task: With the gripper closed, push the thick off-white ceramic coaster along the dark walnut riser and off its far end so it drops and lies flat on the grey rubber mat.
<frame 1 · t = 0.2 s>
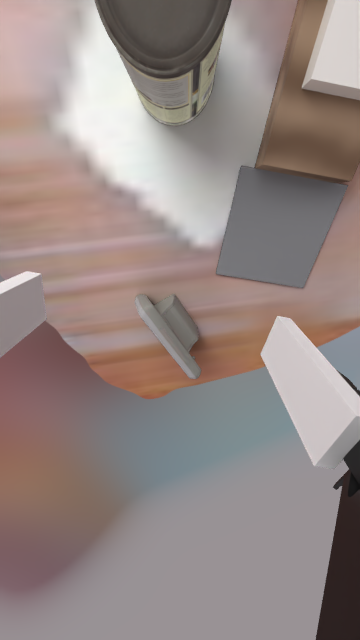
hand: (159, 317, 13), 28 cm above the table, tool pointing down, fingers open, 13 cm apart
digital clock: (168, 320, 45), on the table
riser: (322, 92, 28), on the table
mat: (275, 233, 36), on the table
coaster: (353, 44, 23), point 4 cm above the table, touching riser
coffee can: (173, 75, 28), on the table
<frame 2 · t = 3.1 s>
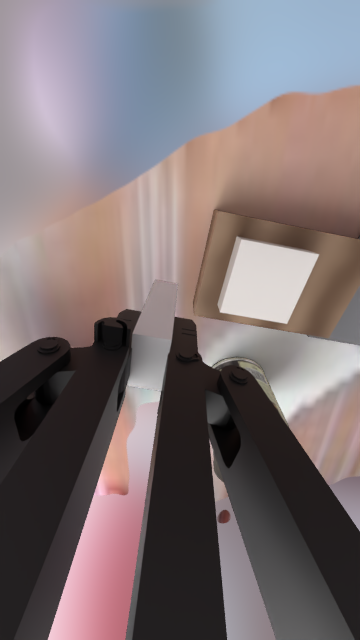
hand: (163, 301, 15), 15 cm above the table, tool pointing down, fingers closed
riser: (269, 273, 29), on the table
coaster: (260, 279, 25), point 4 cm above the table, touching riser
coffee can: (234, 380, 38), on the table
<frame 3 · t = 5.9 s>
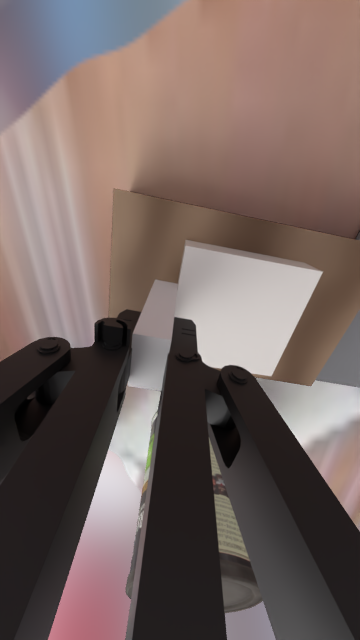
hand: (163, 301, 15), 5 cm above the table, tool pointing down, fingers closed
riser: (224, 289, 20), on the table
coaster: (228, 306, 16), point 4 cm above the table, touching riser
coffee can: (191, 425, 29), on the table
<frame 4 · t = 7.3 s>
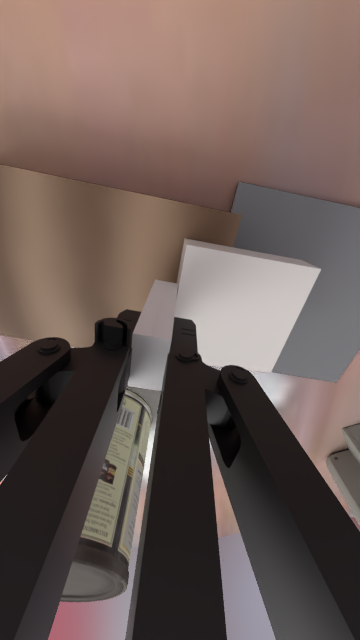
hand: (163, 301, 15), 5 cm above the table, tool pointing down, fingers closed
riser: (109, 267, 19), on the table
mat: (296, 301, 20), on the table
coaster: (227, 304, 16), point 4 cm above the table, touching gripper
coffee can: (113, 413, 28), on the table
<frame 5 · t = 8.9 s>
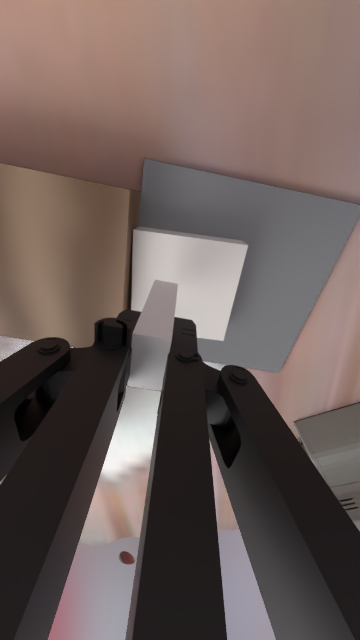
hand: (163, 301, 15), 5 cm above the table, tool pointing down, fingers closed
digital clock: (335, 428, 28), on the table
riser: (28, 251, 19), on the table
mat: (225, 287, 20), on the table
coaster: (183, 282, 19), resting on mat
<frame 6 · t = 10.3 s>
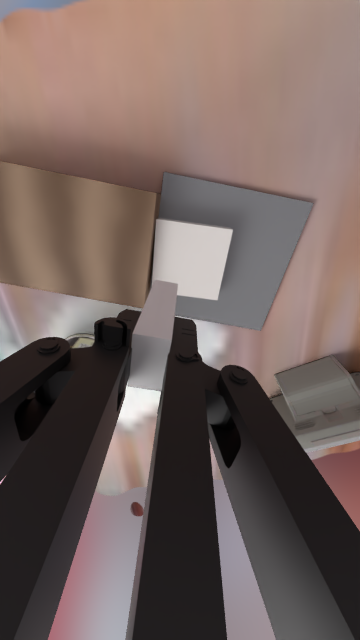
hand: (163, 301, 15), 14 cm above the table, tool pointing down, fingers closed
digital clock: (307, 381, 36), on the table
riser: (80, 235, 26), on the table
mat: (219, 262, 27), on the table
coaster: (189, 258, 27), resting on mat
coffee can: (91, 360, 36), on the table
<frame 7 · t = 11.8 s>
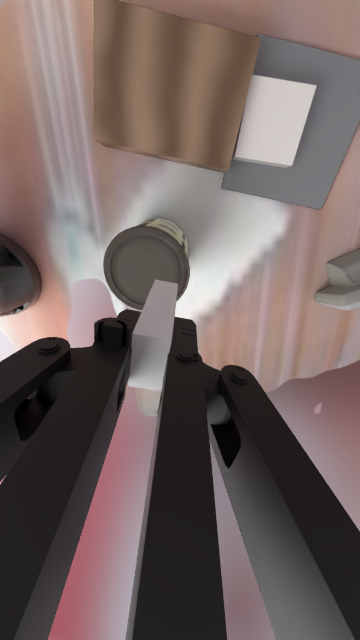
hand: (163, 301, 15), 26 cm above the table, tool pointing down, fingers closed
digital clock: (354, 271, 40), on the table
riser: (172, 105, 30), on the table
mat: (292, 134, 31), on the table
coaster: (267, 128, 30), resting on mat
coffee can: (159, 250, 39), on the table
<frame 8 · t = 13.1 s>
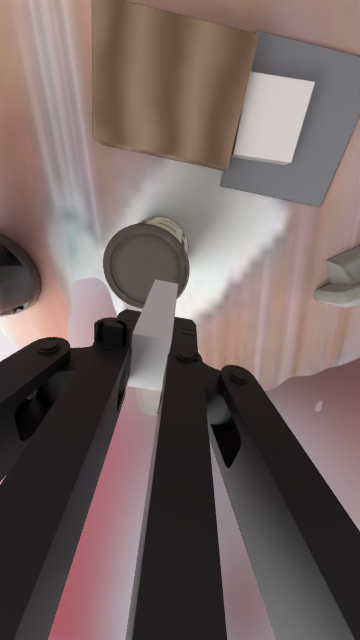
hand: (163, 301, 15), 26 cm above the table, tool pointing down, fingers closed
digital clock: (354, 269, 40), on the table
riser: (170, 103, 30), on the table
mat: (291, 131, 31), on the table
coaster: (266, 125, 30), resting on mat
coffee can: (159, 248, 39), on the table
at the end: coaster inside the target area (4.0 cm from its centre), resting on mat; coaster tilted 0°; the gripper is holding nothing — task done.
